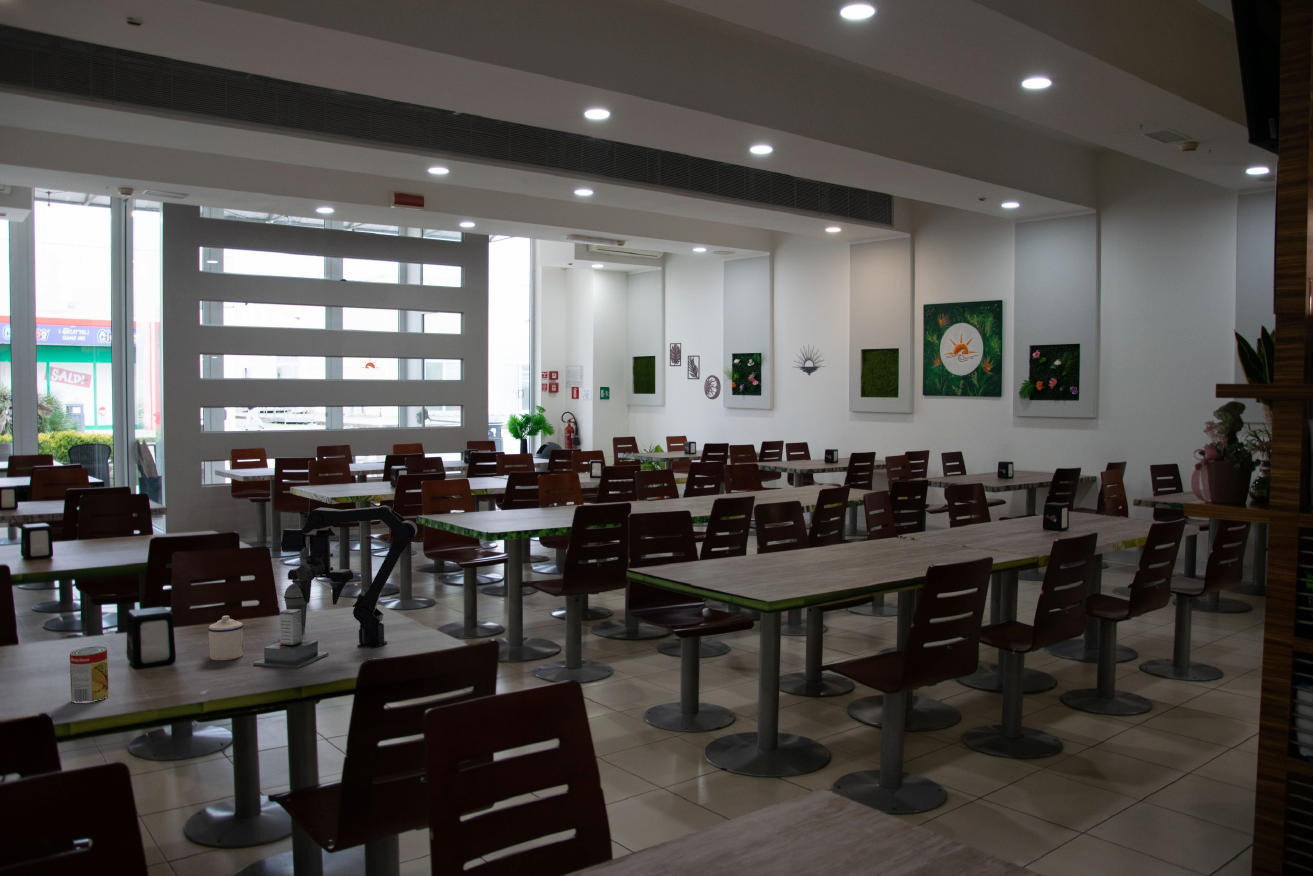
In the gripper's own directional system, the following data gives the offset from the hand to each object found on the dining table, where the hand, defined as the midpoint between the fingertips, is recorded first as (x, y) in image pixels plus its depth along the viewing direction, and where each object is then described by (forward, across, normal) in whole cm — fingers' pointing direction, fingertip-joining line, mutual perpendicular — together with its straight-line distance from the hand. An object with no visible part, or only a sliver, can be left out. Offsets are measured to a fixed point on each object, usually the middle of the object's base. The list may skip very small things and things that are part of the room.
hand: (321, 603), depth 276 cm
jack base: (+13, 0, -14) cm, 19 cm away
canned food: (+13, -26, -56) cm, 63 cm away
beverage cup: (+13, -19, +14) cm, 27 cm away
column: (+9, 0, -14) cm, 17 cm away
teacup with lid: (+13, -22, -15) cm, 30 cm away
